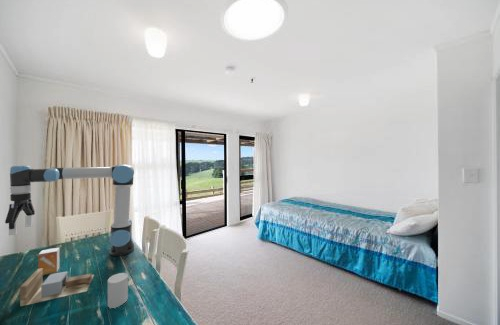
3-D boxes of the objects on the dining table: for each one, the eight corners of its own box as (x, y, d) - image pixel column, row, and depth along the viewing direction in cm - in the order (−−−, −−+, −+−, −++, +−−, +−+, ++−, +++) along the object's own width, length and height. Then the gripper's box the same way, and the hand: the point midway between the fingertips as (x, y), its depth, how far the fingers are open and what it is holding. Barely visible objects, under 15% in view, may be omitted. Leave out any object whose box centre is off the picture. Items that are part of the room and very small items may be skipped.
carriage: (67, 281, 108) (67, 271, 108) (60, 293, 99) (60, 281, 99) (50, 285, 105) (50, 274, 105) (41, 297, 96) (41, 285, 96)
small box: (38, 276, 115) (37, 254, 115) (41, 271, 120) (41, 250, 120) (57, 272, 119) (57, 251, 119) (59, 267, 125) (59, 246, 124)
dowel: (91, 280, 111) (91, 273, 111) (89, 284, 107) (89, 277, 107) (68, 285, 106) (68, 277, 106) (65, 289, 102) (65, 282, 102)
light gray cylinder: (131, 298, 99) (131, 274, 98) (115, 310, 91) (116, 284, 91) (119, 294, 101) (119, 271, 101) (103, 305, 94) (103, 280, 93)
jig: (94, 276, 116) (94, 259, 116) (86, 293, 102) (86, 273, 102) (37, 288, 105) (37, 269, 105) (20, 308, 91) (20, 286, 91)
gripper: (25, 189, 122) (26, 224, 123) (-7, 197, 99) (-6, 239, 100) (42, 189, 125) (42, 222, 126) (14, 196, 102) (15, 237, 103)
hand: (21, 230), depth 113 cm, fingers open, 13 cm apart
